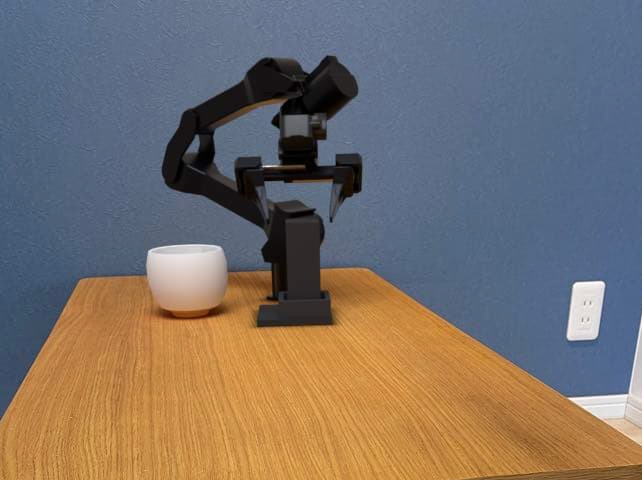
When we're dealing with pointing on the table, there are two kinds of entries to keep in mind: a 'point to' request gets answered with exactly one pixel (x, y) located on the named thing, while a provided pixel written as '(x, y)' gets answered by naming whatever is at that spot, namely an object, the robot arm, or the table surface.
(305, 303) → the base pad
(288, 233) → the post
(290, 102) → the robot arm
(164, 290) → the cup
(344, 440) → the table surface
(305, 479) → the table surface
